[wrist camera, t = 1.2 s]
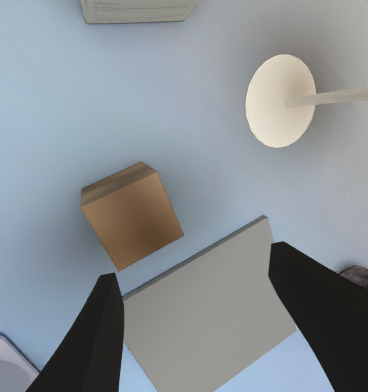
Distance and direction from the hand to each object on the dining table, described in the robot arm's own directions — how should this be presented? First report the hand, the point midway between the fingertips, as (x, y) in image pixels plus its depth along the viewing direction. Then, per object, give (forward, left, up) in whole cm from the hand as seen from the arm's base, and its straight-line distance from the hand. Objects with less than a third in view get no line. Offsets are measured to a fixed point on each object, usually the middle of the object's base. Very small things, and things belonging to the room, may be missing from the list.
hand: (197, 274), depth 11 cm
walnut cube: (-1, +1, -11) cm, 11 cm away
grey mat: (+2, -16, -11) cm, 19 cm away
